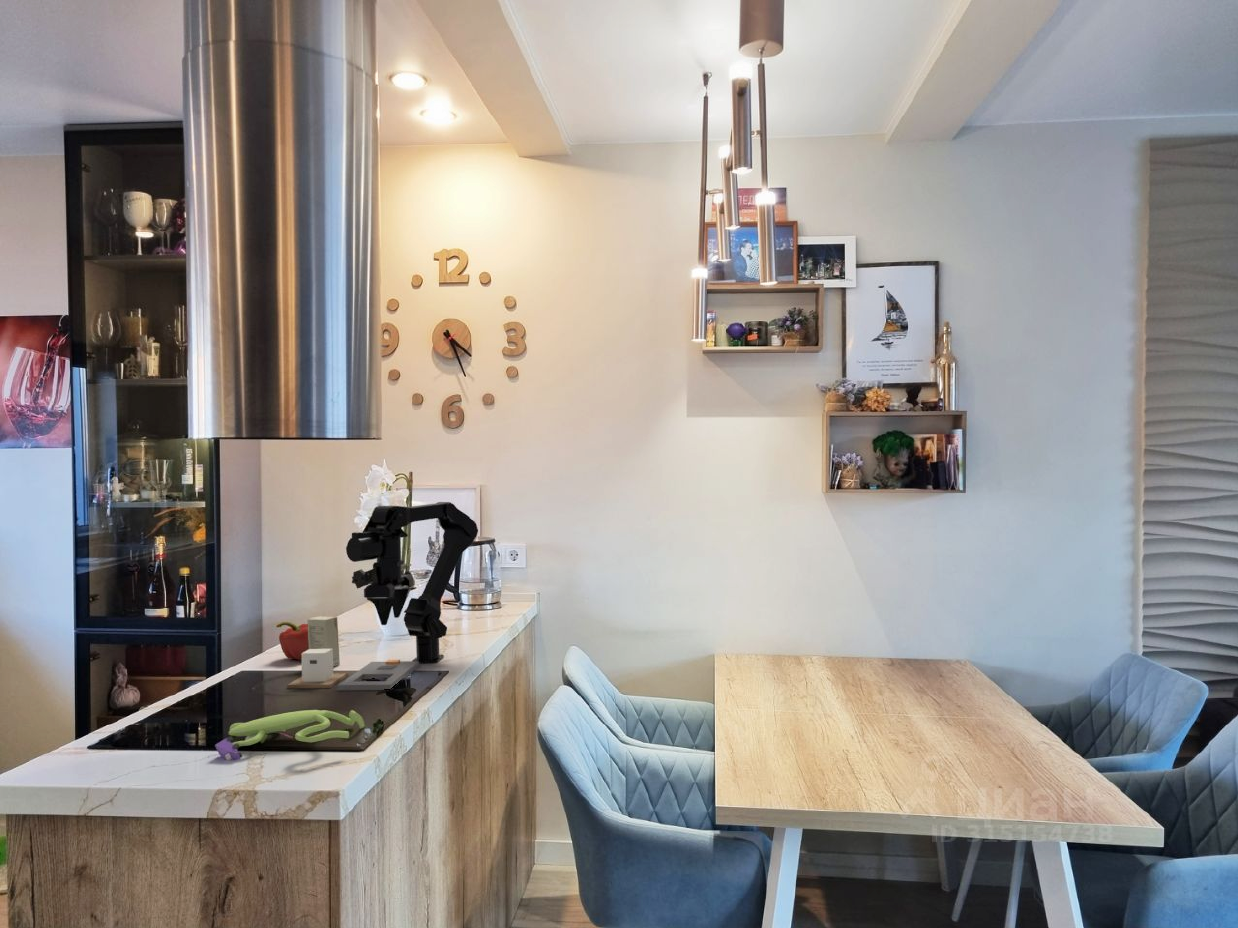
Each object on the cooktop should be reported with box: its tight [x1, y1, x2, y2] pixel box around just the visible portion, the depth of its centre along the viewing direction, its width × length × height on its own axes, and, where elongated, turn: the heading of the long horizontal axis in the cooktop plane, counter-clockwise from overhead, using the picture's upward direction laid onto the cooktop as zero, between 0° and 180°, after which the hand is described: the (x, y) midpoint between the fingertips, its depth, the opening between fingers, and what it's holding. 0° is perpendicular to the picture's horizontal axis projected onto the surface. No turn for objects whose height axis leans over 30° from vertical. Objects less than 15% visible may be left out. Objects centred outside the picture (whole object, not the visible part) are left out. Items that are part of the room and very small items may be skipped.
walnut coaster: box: [286, 672, 349, 689], centre depth 189 cm, size 10×10×1 cm
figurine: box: [214, 709, 365, 761], centre depth 147 cm, size 18×27×6 cm
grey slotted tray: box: [337, 659, 420, 691], centre depth 191 cm, size 21×12×2 cm, turn 177°
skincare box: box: [307, 615, 341, 668], centre depth 204 cm, size 6×4×12 cm
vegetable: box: [276, 621, 309, 661], centre depth 212 cm, size 11×10×10 cm
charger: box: [301, 649, 334, 682], centre depth 188 cm, size 4×6×6 cm
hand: (390, 621), depth 198 cm, fingers open, 9 cm apart
